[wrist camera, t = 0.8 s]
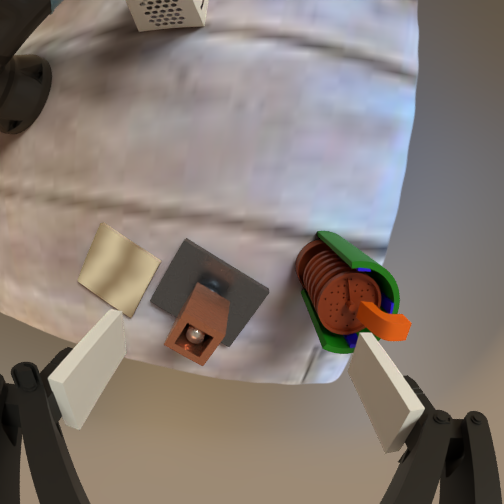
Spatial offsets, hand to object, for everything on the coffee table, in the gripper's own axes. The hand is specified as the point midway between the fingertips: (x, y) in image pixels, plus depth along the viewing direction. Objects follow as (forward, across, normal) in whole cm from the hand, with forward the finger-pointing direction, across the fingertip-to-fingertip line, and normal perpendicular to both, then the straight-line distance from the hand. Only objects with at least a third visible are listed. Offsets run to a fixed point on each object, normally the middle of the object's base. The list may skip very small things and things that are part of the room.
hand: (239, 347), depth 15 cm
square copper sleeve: (+23, -5, -8) cm, 25 cm away
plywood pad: (+27, -19, -6) cm, 34 cm away
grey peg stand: (+27, -5, -8) cm, 29 cm away
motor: (+27, +12, -2) cm, 30 cm away
